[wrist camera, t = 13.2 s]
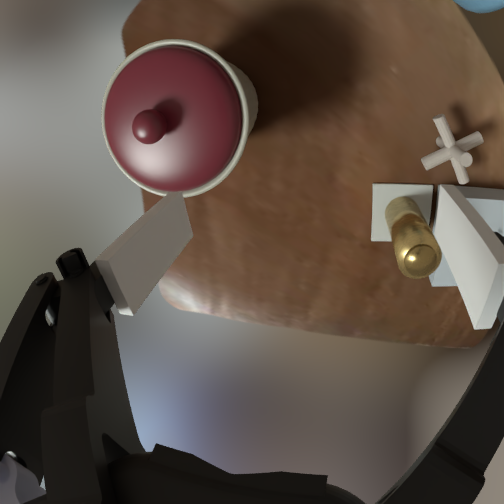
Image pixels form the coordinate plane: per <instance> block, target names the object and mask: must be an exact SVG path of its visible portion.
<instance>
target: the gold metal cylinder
mask: <svg viewBox="0 0 504 504" xmlns="http://www.w3.org/2000/svg"><path fill="white" fill-rule="evenodd" d="M385 220H386V223H387V226H388V230H389V233H390V236H391V240H392V243H393V247H394V251H395V254H396V258H397V262H398V266H399V269H400V270H401V272H402V273H403V274H404V275H406V276H407V277H410V278H414V279H419V278H424V277H427V276H429V275H430V274H432V273H433V272H434V271H435V270H436V269H437V268H438V266H439V265H440V262H441V259H442V252H441V249H440V247H439V244H438V242H437V240H436V238H435V237H434V235H433V233H432V231H431V229H430V227H429V225H428V223H427V221H426V219H425V218H424V216H423V214H422V212H421V210H420V208H419V207H418V205H417V203H416V202H415V201H414V200H413V199H411V198H409V197H397V198H395V199H393V200H392V201H390V203H389V204H388V205H387V207H386V209H385Z"/></svg>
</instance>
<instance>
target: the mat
mask: <svg viewBox="0 0 504 504" xmlns="http://www.w3.org/2000/svg"><path fill="white" fill-rule="evenodd" d="M432 194H433V185H428V184H395V183H373V206H372V233H371V241H392V240H391V236H390V233H389V230H388V226H387V223H386V220H385V209H386V207H387V205H388V204H389V203H390V201H392V200H393V199H395V198H397V197H409V198H411V199H413V200H414V201H415V202H416V203H417V205H418V207H419V208H420V210H421V212H422V214H423V216H424V218H425V219H426V221H427V223H428V225H429V221H430V213H431V204H432Z"/></svg>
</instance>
